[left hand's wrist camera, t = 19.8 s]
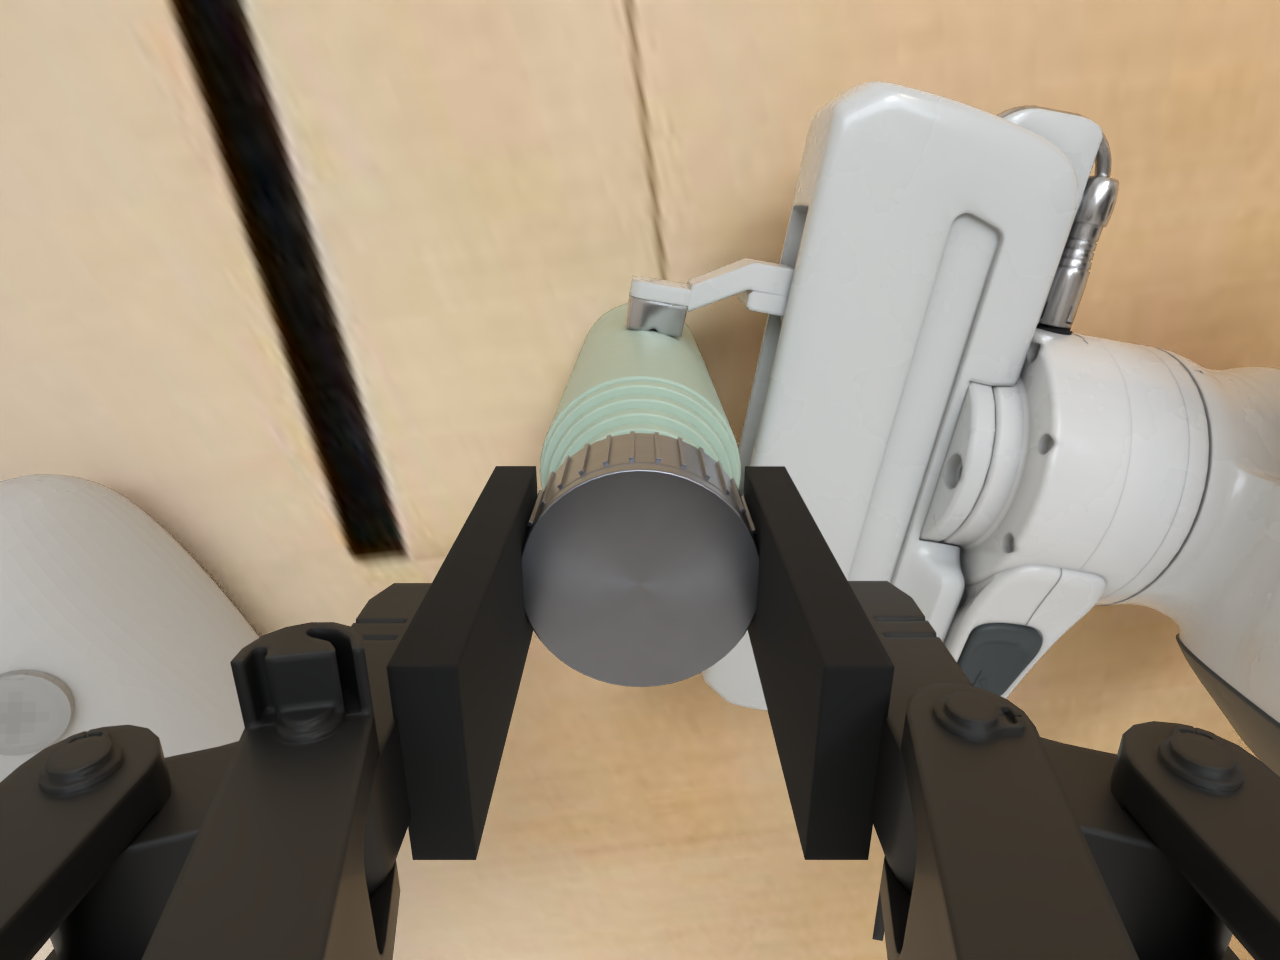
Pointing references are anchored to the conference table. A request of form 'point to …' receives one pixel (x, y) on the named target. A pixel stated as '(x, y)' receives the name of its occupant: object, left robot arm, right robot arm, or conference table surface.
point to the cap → (640, 561)
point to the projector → (107, 625)
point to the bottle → (639, 395)
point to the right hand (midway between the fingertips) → (613, 396)
